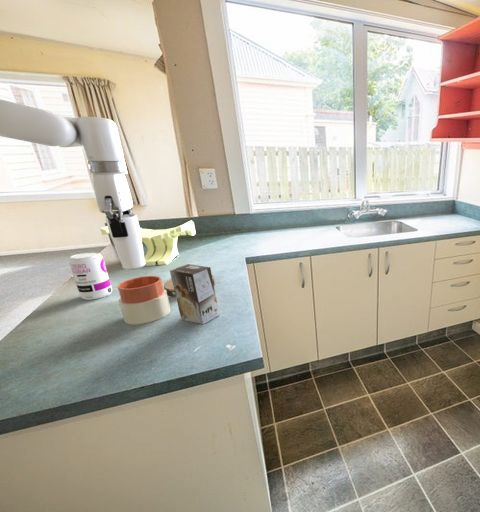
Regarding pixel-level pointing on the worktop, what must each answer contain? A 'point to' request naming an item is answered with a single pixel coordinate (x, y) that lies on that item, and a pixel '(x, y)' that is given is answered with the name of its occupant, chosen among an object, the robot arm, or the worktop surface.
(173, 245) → the slatted curved stool
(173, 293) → the brown flat disc
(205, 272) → the coffee box
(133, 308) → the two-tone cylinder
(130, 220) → the white tumbler
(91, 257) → the supplement can
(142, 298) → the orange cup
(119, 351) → the worktop surface
